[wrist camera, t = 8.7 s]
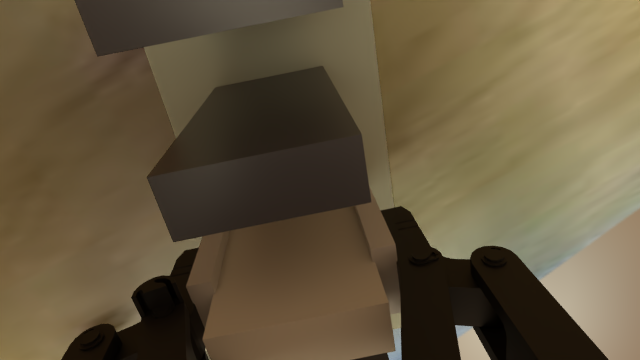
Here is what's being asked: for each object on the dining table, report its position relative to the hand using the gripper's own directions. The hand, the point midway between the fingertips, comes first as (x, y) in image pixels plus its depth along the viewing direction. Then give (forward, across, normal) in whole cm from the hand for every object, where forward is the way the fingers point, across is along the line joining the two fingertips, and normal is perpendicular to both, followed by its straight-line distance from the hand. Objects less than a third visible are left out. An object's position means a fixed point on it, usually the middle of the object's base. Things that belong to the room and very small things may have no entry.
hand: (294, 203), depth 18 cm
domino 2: (+2, 0, +4) cm, 5 cm away
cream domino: (+2, 0, 0) cm, 2 cm away
